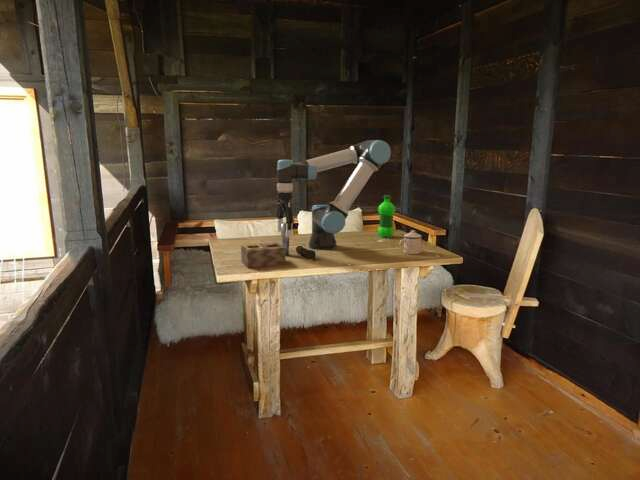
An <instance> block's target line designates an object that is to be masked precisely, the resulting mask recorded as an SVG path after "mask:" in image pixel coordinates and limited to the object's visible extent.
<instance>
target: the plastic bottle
mask: <svg viewBox="0 0 640 480" xmlns="http://www.w3.org/2000/svg"><path fill="white" fill-rule="evenodd" d="M383 199H384V201H383V202H381V203H380V204H379V206H378V208H377V211H378V212H377V213H378V214H379V226H378V228H377V233H378V235H379V236H380V237H381V238H383V237H390V238H391V237H392V236H394V234H395V229H394V226H393V225H394V215H395V213H396V207H395V205H394V204H393V203H392V202H391V201H390V200H391V199H392V196H391V195H388V194H387V195H386V194H385V195H383Z"/></svg>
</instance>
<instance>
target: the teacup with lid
mask: <svg viewBox="0 0 640 480" xmlns="http://www.w3.org/2000/svg"><path fill="white" fill-rule="evenodd" d="M422 238H423V237H422V235H421V234H419V233H418V232H416V230H414V229H413V230H410V231H409V232H408V233H405V234H404V235H403V238H402V239H400V241H399V248H401V249H403V253H404V254H407V255H419V254H421V248H422ZM402 242H403V246H402Z"/></svg>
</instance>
